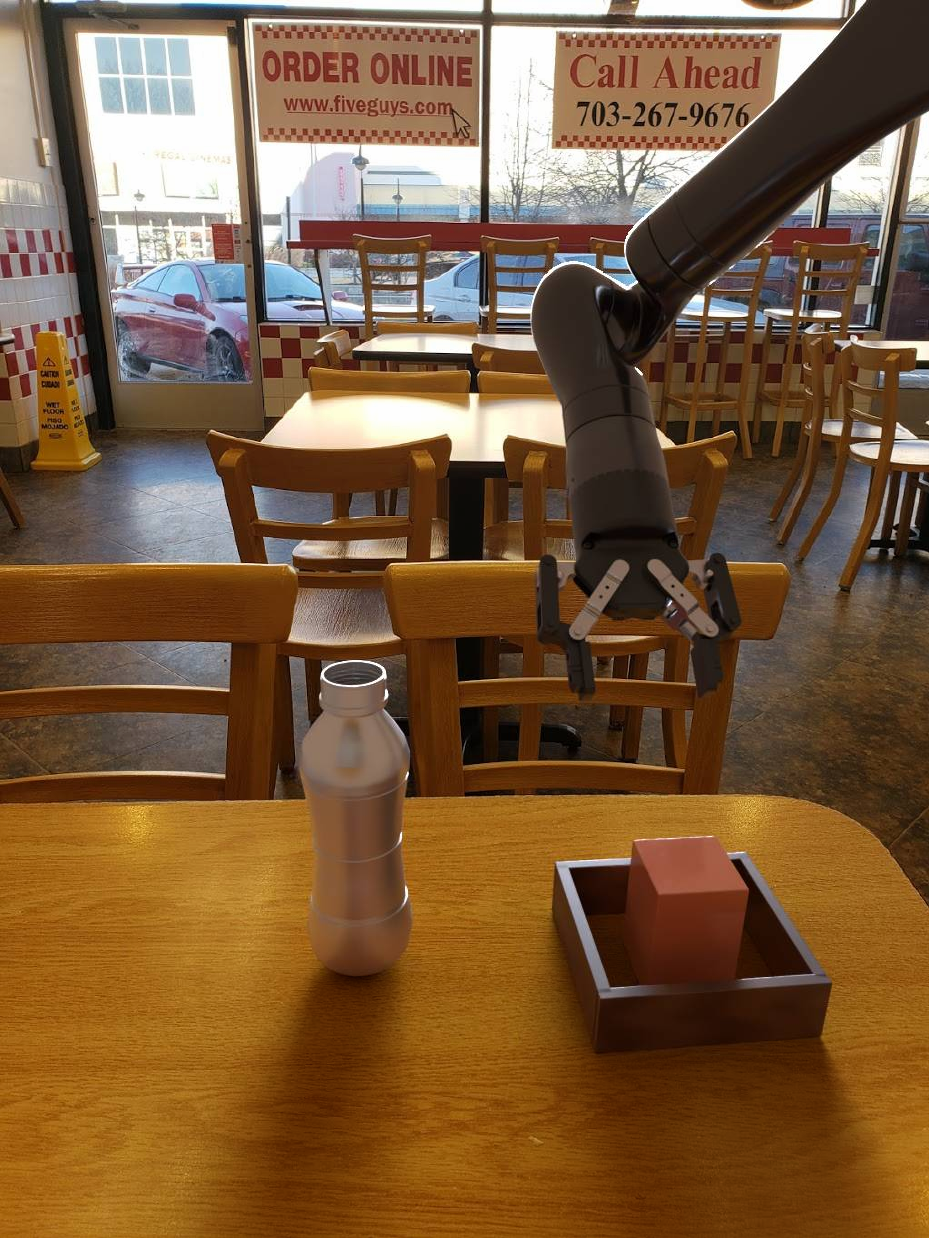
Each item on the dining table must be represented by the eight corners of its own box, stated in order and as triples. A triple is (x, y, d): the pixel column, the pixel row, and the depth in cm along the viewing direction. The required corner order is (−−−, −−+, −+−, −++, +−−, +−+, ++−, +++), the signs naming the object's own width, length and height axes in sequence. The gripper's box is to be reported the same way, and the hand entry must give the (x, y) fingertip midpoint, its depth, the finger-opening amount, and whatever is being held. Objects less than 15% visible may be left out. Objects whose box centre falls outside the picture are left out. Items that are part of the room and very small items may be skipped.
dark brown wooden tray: (739, 898, 67) (746, 851, 65) (821, 1036, 55) (832, 982, 54) (551, 909, 65) (554, 861, 64) (595, 1053, 54) (600, 998, 52)
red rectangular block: (701, 936, 63) (716, 835, 60) (732, 996, 58) (749, 889, 55) (621, 941, 62) (632, 839, 59) (645, 1002, 57) (658, 894, 54)
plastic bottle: (426, 974, 59) (429, 687, 52) (321, 1002, 57) (308, 706, 49) (395, 911, 65) (393, 644, 57) (298, 934, 62) (283, 659, 55)
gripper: (533, 465, 67) (556, 680, 60) (726, 465, 68) (769, 674, 62) (518, 517, 73) (537, 716, 67) (694, 516, 75) (729, 710, 69)
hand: (648, 696), depth 64 cm, fingers open, 8 cm apart
